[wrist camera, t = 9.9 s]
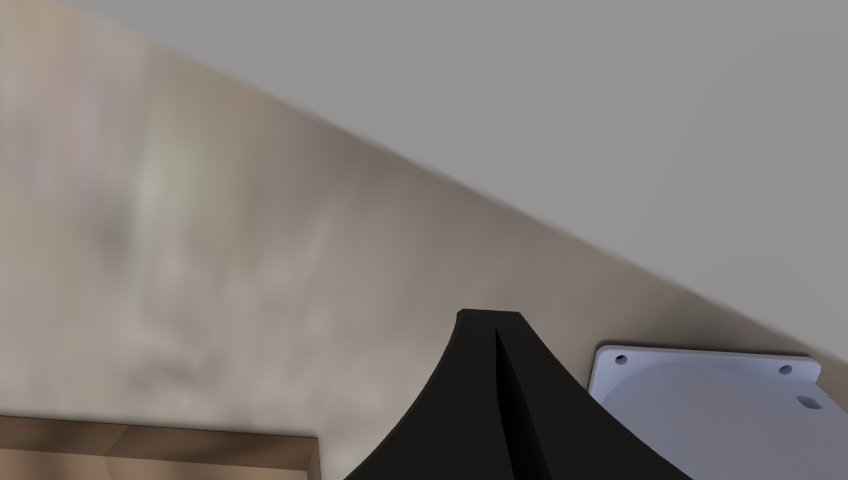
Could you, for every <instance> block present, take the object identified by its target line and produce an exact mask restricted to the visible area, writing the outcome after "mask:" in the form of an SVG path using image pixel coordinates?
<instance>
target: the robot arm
mask: <svg viewBox="0 0 848 480" xmlns="http://www.w3.org/2000/svg"><path fill="white" fill-rule="evenodd" d="M619 355H624V357H623V358H621V359H616V357H618V356H619ZM783 366H785V367H784V368H782V369H780V368H781V367H783ZM820 372H821V366H820V364H819V363H817V362H816V361H815V360H814V359H813V358H809V357H797V356H781V355H764V354H748V353H732V352H715V351H699V350H682V349H666V348H649V347H633V346H616V345H605V346H603V347H601V348H600V349H598V351H597V353H596V356H595V361H594V366H593V370H592V375H591V380H590V384H589V389H588V392H587V391H586V390H585V389H584V388H583V387H582V386H581V385H580V384H579V383H578V382H577V381H576V380H575V379H574V378H573V377H572V376H571V374H570V373H569V372H568V371H567V370H566V369H565V368H564V366H563V365H562V364H561V363H560V362H559V361H558V360H557V358H556V357H555V356H554V355H553V354H552V353H551V351H550V350H549V349H548V348H547V347H546V345H545V344H544V343H543V342H542V340H541V339H540V338H539V337H538V335H537V334H536V333H535V331H534V330H533V329H532V328H531V326H530V325H529V324H528V322H527V321H526V320H525V319H524V317H523V316H522V315H521V314H520V313H519V312H511V311H494V310H477V309H461V310H460V311H459V312H457V318H456V324H455V327H454V330H453V333H452V335H451V338H450V340H449V343H448V345H447V347H446V349H445V351H444V353H443V355H442V357H441V359H440V361H439V363H438V365H437V367H436V368H435V370H434V372H433V373H432V375H431V377H430V378H429V380H428V382H427V383H426V385H425V386H424V388H423V390H422V391H421V393H420V394H419V396H418V397H417V398H416V400H415V401H414V403H413V404H412V405H411V407H410V408H409V409H408V411H407V412H406V413H405V415H404V416H403V417H402V419H401V420H400V421H399V422H398V424H397V425H396V426H395V427H394V428H393V429H392V430H391V432H390V433H389V434H388V435H387V436H386V437H385V439H384V440H383V441H382V442H381V443H380V444H379V445H378V446H377V448H376V449H375V450H374V451H373V452H372V453H371V454H370V455H369V456H368V457H367V458H366V459H365V460H364V461H363V462H362V463H361V464H360V465H359V466H358V467H357V468H356V469H354V470H353V471H352V472H351V473H350V474H349V475H348V476H347V477H346V478H345V479H344V480H848V414H847V413H846V412H845V411H844V410H843V409H842V408H841V407H840V406H839V405H838V404H837V403H836V402H835V401H834V400H833V399H832V398H831V397H829V396H828V395H827V394H826V393H825V392H824V391H823V390H822V389H821V388H820V387H819V386H818V385H817V384H816V381H817V378H818V376H819V374H820Z"/></svg>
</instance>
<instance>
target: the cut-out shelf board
mask: <svg viewBox="0 0 848 480" xmlns="http://www.w3.org/2000/svg"><path fill="white" fill-rule="evenodd" d="M0 480H321V476H320V462H319V449H318V439H317V438H302V437H288V436H274V435H260V434H246V433H232V432H217V431H203V430H189V429H175V428H161V427H146V426H132V425H118V424H104V423H90V422H75V421H61V420H47V419H33V418H19V417H4V416H0Z"/></svg>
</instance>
